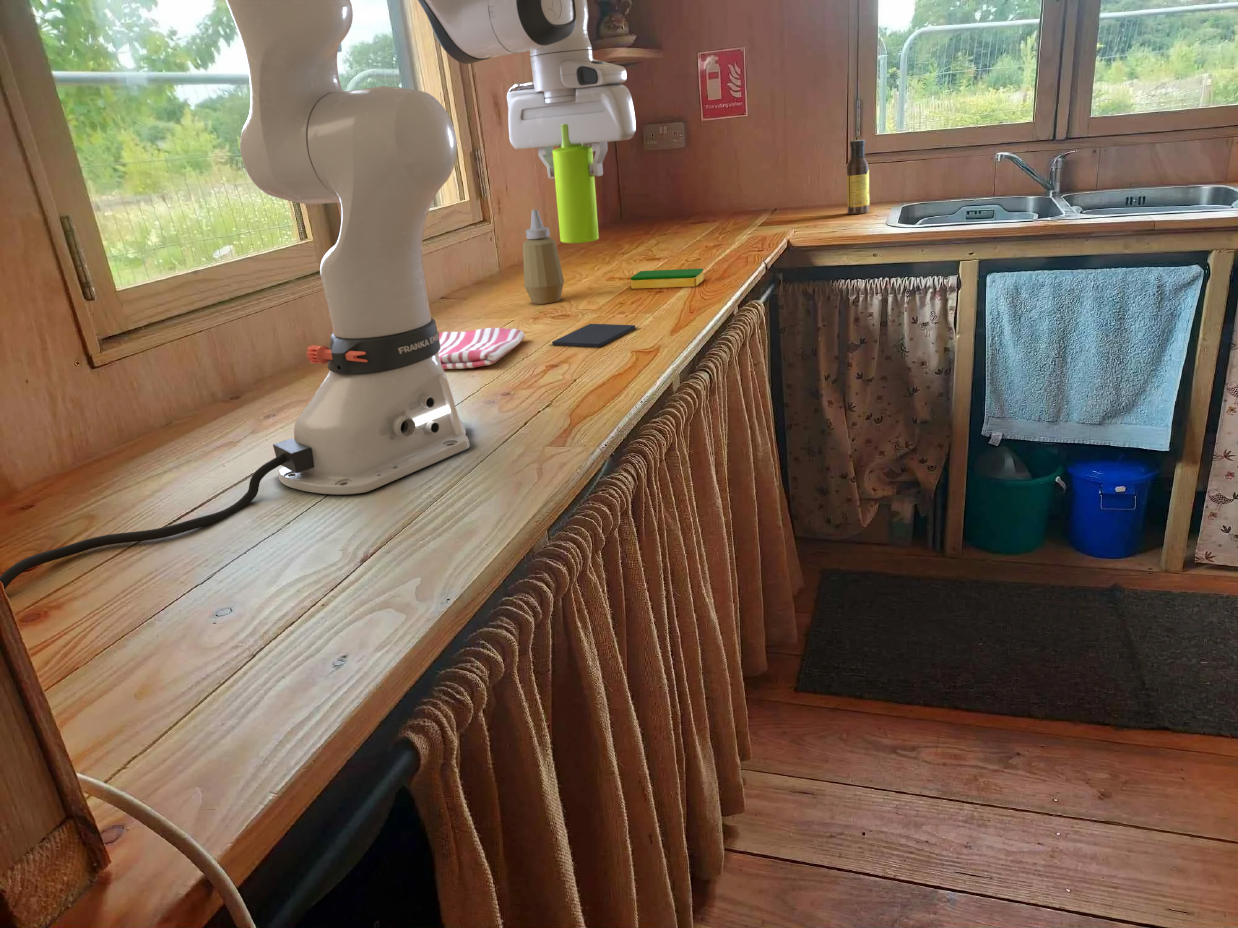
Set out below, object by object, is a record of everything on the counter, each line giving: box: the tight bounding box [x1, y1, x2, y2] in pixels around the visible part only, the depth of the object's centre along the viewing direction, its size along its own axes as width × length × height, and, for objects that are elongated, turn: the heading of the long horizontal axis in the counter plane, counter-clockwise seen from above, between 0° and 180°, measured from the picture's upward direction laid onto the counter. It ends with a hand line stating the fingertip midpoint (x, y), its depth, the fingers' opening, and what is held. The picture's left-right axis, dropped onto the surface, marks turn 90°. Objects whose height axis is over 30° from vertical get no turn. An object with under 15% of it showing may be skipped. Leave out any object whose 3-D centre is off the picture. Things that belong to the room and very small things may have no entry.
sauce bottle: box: [846, 139, 871, 215], centre depth 249 cm, size 6×6×20 cm
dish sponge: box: [630, 268, 705, 290], centre depth 180 cm, size 7×14×2 cm, turn 72°
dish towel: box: [438, 327, 525, 370], centre depth 141 cm, size 17×23×4 cm
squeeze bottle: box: [522, 209, 565, 305], centre depth 173 cm, size 8×8×18 cm
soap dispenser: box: [552, 124, 600, 244], centre depth 129 cm, size 6×7×20 cm
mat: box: [551, 323, 636, 348], centre depth 145 cm, size 12×9×1 cm
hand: (575, 177), depth 130 cm, fingers closed on soap dispenser, 6 cm apart
